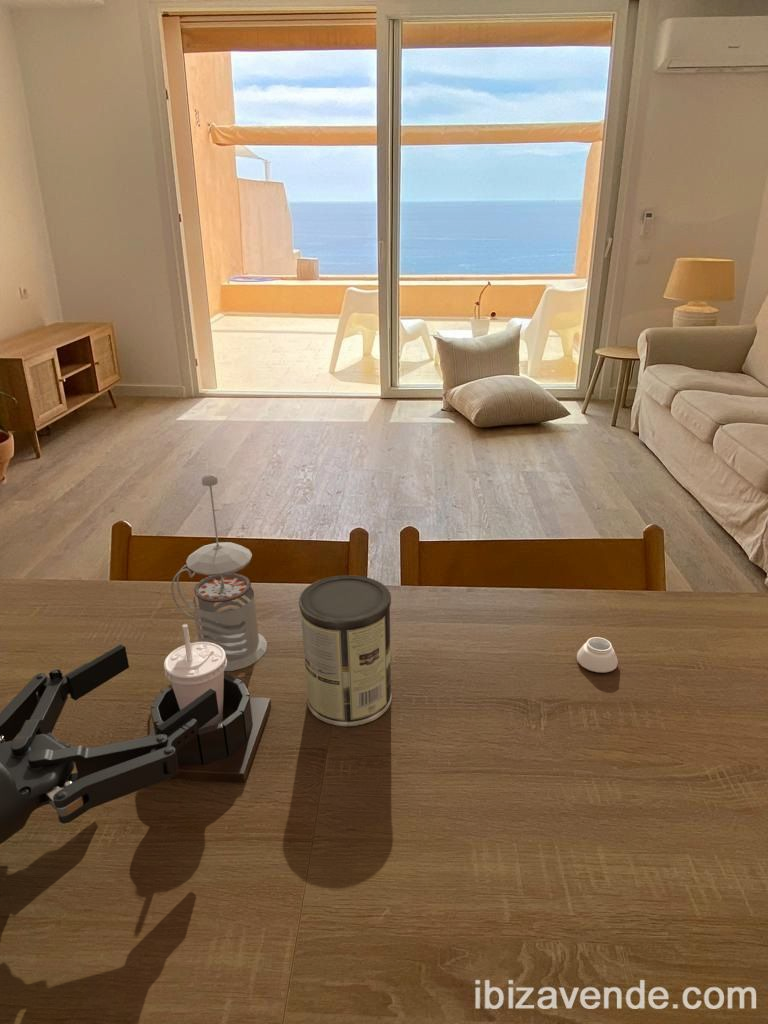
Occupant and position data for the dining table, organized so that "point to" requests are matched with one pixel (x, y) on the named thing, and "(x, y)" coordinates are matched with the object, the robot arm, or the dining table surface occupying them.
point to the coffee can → (347, 649)
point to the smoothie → (197, 672)
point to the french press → (224, 598)
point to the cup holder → (218, 734)
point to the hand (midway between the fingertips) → (168, 677)
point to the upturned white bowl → (597, 655)
